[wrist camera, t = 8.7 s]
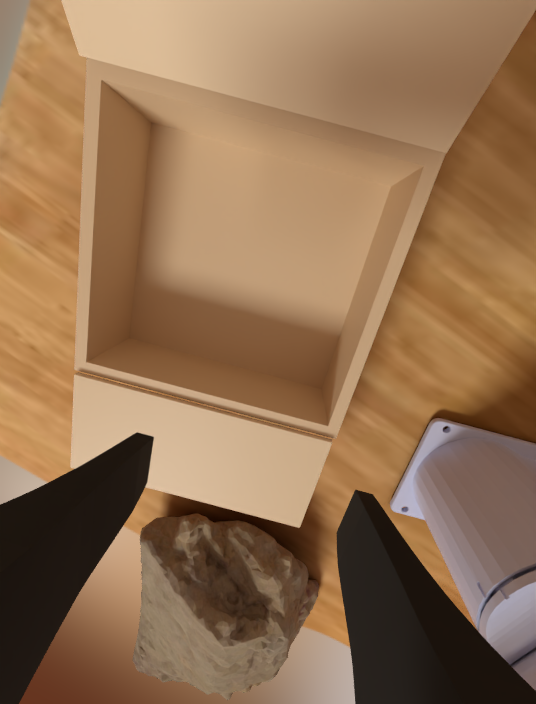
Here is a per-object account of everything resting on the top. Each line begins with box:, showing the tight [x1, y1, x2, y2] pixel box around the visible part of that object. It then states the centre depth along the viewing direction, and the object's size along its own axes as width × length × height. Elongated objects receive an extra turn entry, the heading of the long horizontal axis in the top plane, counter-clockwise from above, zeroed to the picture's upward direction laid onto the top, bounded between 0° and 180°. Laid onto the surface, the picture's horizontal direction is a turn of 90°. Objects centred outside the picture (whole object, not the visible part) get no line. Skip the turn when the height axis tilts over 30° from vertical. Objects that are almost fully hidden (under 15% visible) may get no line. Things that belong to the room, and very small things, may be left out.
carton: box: [71, 58, 446, 528], centre depth 17 cm, size 14×19×5 cm
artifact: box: [133, 513, 319, 700], centre depth 24 cm, size 18×7×15 cm
